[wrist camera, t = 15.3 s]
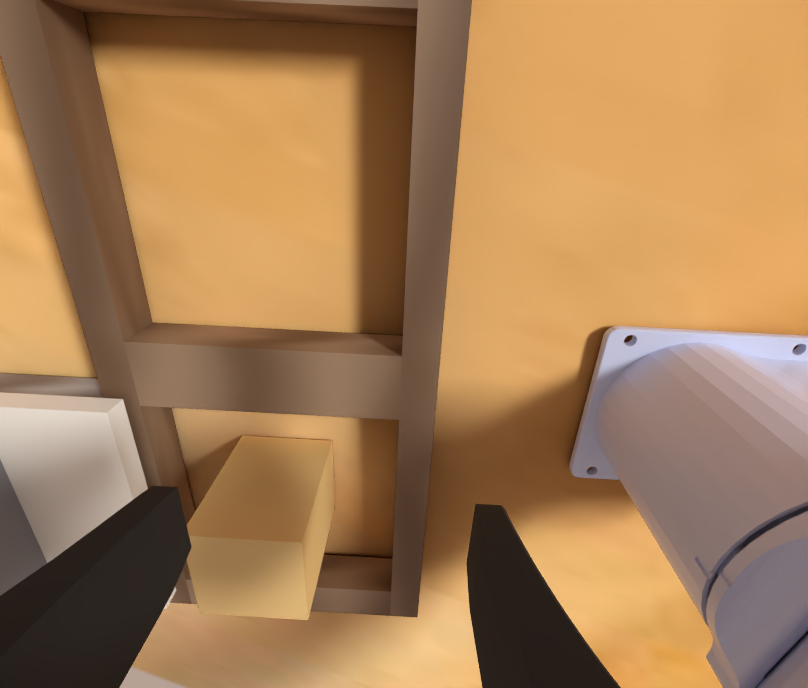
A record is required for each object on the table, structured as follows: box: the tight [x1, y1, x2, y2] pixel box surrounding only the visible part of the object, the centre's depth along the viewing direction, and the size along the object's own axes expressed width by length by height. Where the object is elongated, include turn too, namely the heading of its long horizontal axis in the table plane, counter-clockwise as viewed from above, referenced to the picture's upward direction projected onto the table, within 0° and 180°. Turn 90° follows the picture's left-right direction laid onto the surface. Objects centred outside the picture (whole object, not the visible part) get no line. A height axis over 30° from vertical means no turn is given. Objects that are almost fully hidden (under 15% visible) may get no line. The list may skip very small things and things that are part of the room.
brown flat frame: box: [0, 0, 472, 617], centre depth 18 cm, size 26×29×2 cm
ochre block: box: [187, 436, 335, 620], centre depth 19 cm, size 4×4×6 cm
